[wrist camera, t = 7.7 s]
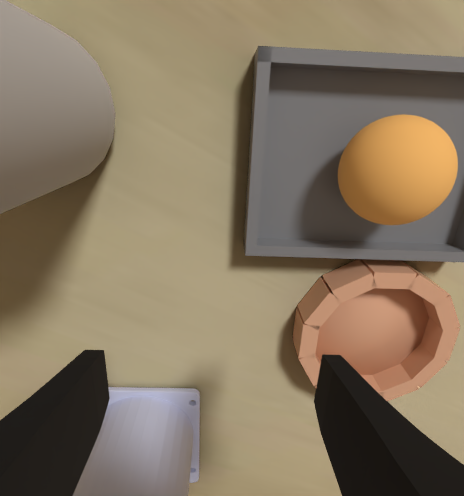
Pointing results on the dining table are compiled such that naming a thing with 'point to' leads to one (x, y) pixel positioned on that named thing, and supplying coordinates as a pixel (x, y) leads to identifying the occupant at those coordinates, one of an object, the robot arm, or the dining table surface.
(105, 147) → the can
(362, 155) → the ball
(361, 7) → the dining table surface
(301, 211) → the tray
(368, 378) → the dish
